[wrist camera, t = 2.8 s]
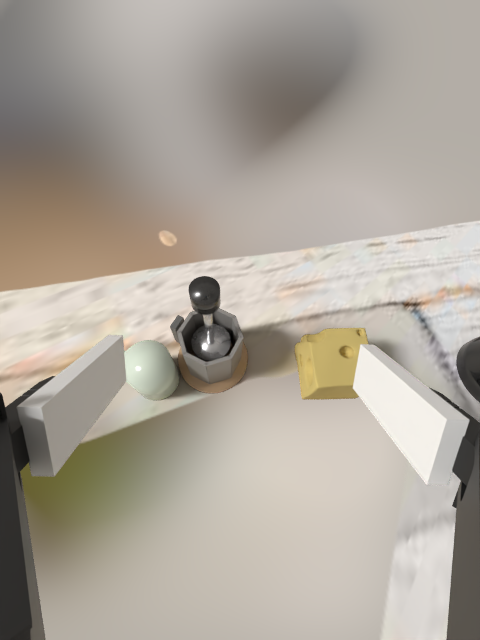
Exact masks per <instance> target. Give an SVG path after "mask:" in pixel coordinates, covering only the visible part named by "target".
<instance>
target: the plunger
mask: <svg viewBox="0 0 480 640" xmlns="http://www.w3.org/2000/svg"><path fill="white" fill-rule="evenodd" d="M189 295H190V299H191V304H192V307H193V309H194V310H195V311H196V312H197V313H199V314H202V315H203V317H204V323H205V325H203V326H201V327H200V328H198V329H197V330H196V331H195V333H194V334H193V336H192V341H191V344H192V349H193V351H194V353H195V354H196V356H197V357H199V358H200V359H202V360H204V361H213V360H216V359H219V358H223V357H224V356H225V355H226V354H227V353H228V351H229V349H230V345H231V340H230V335H229V333H228V332H227V330H226V329H225V328H223V327H222V326H220V325H217V324H213V319H212V313H214V312H216V311H217V310H218V308H219V307H220V286H219V284H218V282H217V281H216V280H215V279H213V278H211V277H207V276H202V277H198V278H196V279H194V280H193V281H192V282H191V284H190V285H189Z"/></svg>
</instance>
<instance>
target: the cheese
mask: <svg viewBox="0 0 480 640" xmlns="http://www.w3.org/2000/svg"><path fill="white" fill-rule="evenodd" d="M361 344H368V340H367V335H366V331H365V328H337V329H324V330H323V331H321V332H320V333H318V334H313V335H310V334H307V335H304V336H303V337H302V338H301V342H299V343H297V344H296V345H295V356H296V360H297V365H298V372H299V379H300V387H301V396H302V399H345V398H346V399H349V398H357V397H359V396H358V394H357V393H356V392H355V390H354V389H353V383H354V378H355V372H356V367H357V361H358V356H359V350H360V345H361Z"/></svg>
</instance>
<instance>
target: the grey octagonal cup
mask: <svg viewBox="0 0 480 640" xmlns="http://www.w3.org/2000/svg"><path fill="white" fill-rule="evenodd" d="M212 319H213V324H217V325H220V326H222V327H223V328H225V329H226V330H227V332H228V333H229V335H230V340H231V345H230V349H229V351H228V353H227V354H226V355H225V356H224V357H223V358H219V359H216V360H213V361H204V360H202V359H200V358H199V357H197V356H196V354H195V353H194V351H193V349H192V344H191V341H192V336H193V334H194V333H195V331H196V330H197V329H198V328H200V327H201V326H203V325H205V323H204V317H203V315H202V314H199V313H197V312H196V311H193V312H191V313H189V315H188V316H187V318H186V319H185V321H184V319H183V317H181V316H179V315H178V316H177V317H176V319H175V320H174V322H173V323H172V324H171V326H170V328H171V330H172V333H173V335H174V338H175V340H176V342H178V343H180V346H181V348H180V351H179V355H178V365H179V369H180V372H181V374H182V376H183V378H184V379H185V381H186V382H187V383H188V384H189V385H190V386H191V387H193V388H194V389H196V390H198V391H201V392H204V393H220V392H224V391H226V390H228V389H230V388H232V387H233V386H235V385H236V384H237V383H238V382H239V381H240V380H241V378H242V377H243V375H244V373H245V371H246V367H247V362H248V354H247V350H246V347H245V344H244V343H243V335H242V332H241V329H240V327H239V324H238V321H237V318H236V316H235V315H233V314H230V313H228V312H226V311H224V310H222V309H220V308H218V310H217V311H216V312H214V313H212Z"/></svg>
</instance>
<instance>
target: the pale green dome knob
mask: <svg viewBox="0 0 480 640" xmlns="http://www.w3.org/2000/svg"><path fill="white" fill-rule="evenodd" d="M124 356H125V368H126V380H127V381H126V382H127V383H128V384H130V385H131V386H132V387H133V388H134V389H135V390H137V391H138V392H139V393H140V394H141V395H142V396H144V397H145V398H147V399H149V400H156V401H157V400H162V399H165V398H167V397H169V396H170V395H171V394H172V393H173V392H174V391H175V390H176V388H177V386H178V384H179V372H178V369H177V367H176V365H175V363H174V361H173V359H172V357H171V355H170V353H169V351H168V350H167V348H166V347H165V346H164V345H163V344H161V343H159V342H157V341H152V340H146V341H141V342H138V343H136V344H134V345H132V346H131V347H130V348H129V349H128V350H127V351H124Z"/></svg>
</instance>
